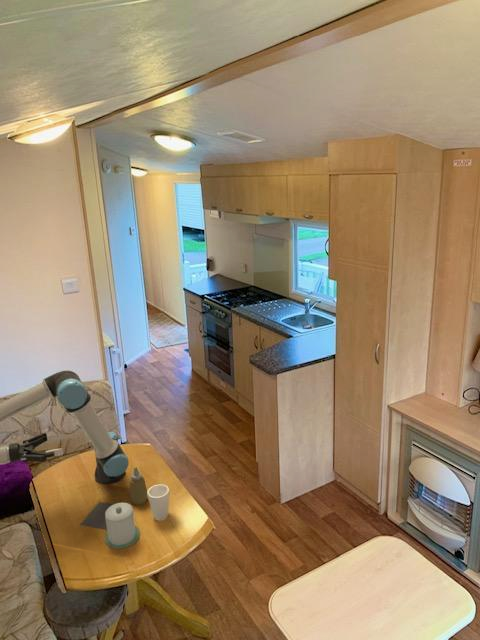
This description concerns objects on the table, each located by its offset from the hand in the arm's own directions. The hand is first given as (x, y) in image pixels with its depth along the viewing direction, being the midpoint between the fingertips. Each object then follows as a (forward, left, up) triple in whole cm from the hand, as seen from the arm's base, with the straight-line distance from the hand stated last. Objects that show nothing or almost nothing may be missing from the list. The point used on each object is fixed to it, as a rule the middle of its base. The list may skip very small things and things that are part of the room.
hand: (62, 443), depth 214 cm
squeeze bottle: (-13, +26, -35) cm, 46 cm away
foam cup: (-6, +40, -35) cm, 54 cm away
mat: (0, +15, -35) cm, 38 cm away
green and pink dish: (+10, +30, -35) cm, 47 cm away
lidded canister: (+10, +30, -34) cm, 47 cm away
